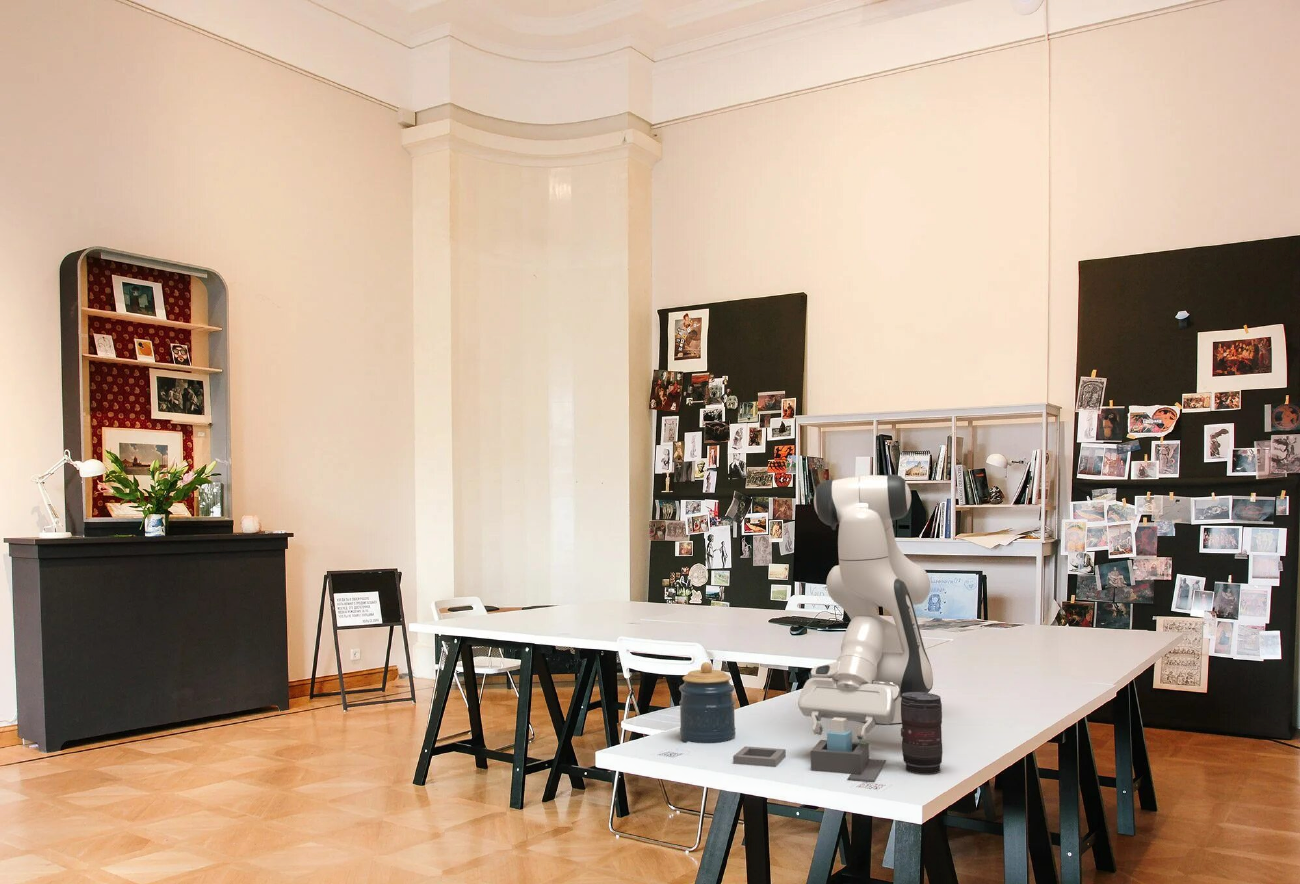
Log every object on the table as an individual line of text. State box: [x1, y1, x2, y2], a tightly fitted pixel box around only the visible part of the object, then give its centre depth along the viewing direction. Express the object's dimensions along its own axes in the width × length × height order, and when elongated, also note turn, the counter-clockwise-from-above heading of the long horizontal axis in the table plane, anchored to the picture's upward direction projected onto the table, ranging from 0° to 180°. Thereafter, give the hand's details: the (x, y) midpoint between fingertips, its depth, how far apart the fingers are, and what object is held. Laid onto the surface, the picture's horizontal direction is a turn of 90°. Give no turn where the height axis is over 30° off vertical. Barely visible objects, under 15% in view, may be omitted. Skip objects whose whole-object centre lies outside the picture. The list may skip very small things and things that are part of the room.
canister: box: [678, 662, 736, 744], centre depth 233 cm, size 13×13×18 cm
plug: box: [826, 717, 853, 752], centre depth 205 cm, size 4×4×10 cm
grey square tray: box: [732, 745, 787, 768], centre depth 210 cm, size 9×9×2 cm
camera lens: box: [900, 692, 943, 775], centre depth 203 cm, size 8×8×15 cm
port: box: [810, 739, 887, 783], centre depth 204 cm, size 16×16×5 cm
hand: (838, 735), depth 204 cm, fingers open, 8 cm apart
